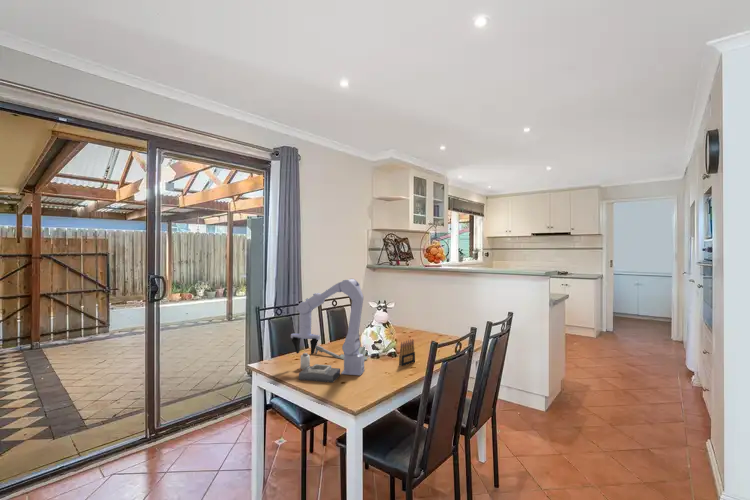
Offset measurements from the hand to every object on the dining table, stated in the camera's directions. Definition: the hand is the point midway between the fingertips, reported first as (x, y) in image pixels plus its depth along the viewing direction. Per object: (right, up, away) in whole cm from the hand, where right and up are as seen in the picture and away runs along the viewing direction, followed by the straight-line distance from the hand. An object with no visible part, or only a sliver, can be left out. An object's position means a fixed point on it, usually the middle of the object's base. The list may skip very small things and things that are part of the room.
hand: (305, 353), depth 176 cm
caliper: (+8, -8, +22) cm, 24 cm away
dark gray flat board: (+9, -7, -13) cm, 18 cm away
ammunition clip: (+51, -8, +8) cm, 52 cm away
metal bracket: (+24, -8, +20) cm, 32 cm away
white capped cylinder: (0, -7, 0) cm, 7 cm away
